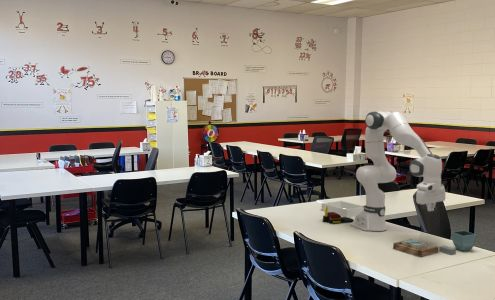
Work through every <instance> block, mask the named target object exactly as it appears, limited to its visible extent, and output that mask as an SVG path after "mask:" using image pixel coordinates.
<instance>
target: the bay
mask: <svg viewBox="0 0 495 300" xmlns="http://www.w3.org/2000/svg"><path fill="white" fill-rule="evenodd" d="M407 240H408V239H406V240H405V241H407ZM409 240H413V239H409ZM403 241H404V240H402V241H397V242H393V244H392V246H393V248H392V249H393V250H396V251H400V252H403V253H406V254H409V255H411V256H414V257H417V258H418V257H419V258H422V257H427V256H431V255H434V254H438V253H439V246H432V247H427V249H423V250H418V249H414V248H411V247H408V246H404V245H401V243H402V242H403Z"/></svg>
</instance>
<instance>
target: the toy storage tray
mask: <svg viewBox="0 0 495 300" xmlns="http://www.w3.org/2000/svg"><path fill="white" fill-rule="evenodd" d="M325 206H327V207H328V212H335V213H337V214H339V215H340V216H341V217H348V218H351V217H352V218H353V217H356V215H358V214H359V213H361V212H362V211H363V210H364V208H362V207H364V206H365V205H360V204H358V203H357V204H356V203H352V202H347V201H344V200H337V201H330V202H321V211H323V212H325ZM343 208H346V209H343Z"/></svg>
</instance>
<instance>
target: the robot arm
mask: <svg viewBox="0 0 495 300" xmlns="http://www.w3.org/2000/svg"><path fill="white" fill-rule="evenodd" d="M364 121H365V122H364V123H365V125H366V128H365V132H364V148H365V156H366V157H367V158H368V159H370V161H372V162H373V163H372V164H373V165H372V164H371V165H363V166H360V167H358V168H357V169H356V173H355V177H356V179H357V181H358V182H359V183H360V184H361V185H362V186H363V189H364V191H365V205H363V206H364V207H362V208H364V210H363V211H362V212H361V213H359V214H358V215H356V216H354V217H355V218H354V221H353V222H352V223H350V226H351V227H354V228H357V229H359V230H362V231H371V232H383V231H387V224H386V216H385V215H386V204H385V203H386V194H385V192H384V191H383V190H382V189H380V188H379V185H378V184H385V183H386V184H387V183H391V182H393V181H395V180H396V178H397V170H396V169H395V167H394V166H393V165H392V164H391V163H390V162H389V161H388V159H387V157H386V153H385V152H386V151H385V141H384V134H385V132H388V133H390V134H391V137H392V138H393V140H394V141H395V142H396V143H397V144H398V145H399V144H400V145H402V146H406V147H410V148H411V149H413V150H415V151H416V153H417V154H418V155H419V157H420V158H416V159H412V160H411V161H410V163H409V167H408V168H409V172H410V174H411V175H412V176H413V177H419V178H420V177H423V180H422V181H421V182H419V183H418V184H416V189H417V190H416V194H415V202H416V203H417V204H418V205H426V208H427V209H426V210H427V212H434V208H435V206H436V203H439V202H445V200H446V188H445V186H444V184H443V183H442V171H443V161H442V158H441V156H439V155H437V154H433V153H432V151H431V149H430V148H429V147H428V146H427V144H426V143H425V141H424V140H423V139H422V138H421V137H420V136H419V135H418V134H417V133H416V132H415V131H414V129H412V128H411V126H410V124H409V122H408V120H407V118H405V116H404V115H403V114H402V113H401V112H399V111H385V110H382V111H371V112H368V113H367V115H366V116H365V118H364Z"/></svg>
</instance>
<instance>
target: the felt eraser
mask: <svg viewBox="0 0 495 300" xmlns="http://www.w3.org/2000/svg"><path fill="white" fill-rule="evenodd" d="M438 247H439V250H438V253H443V254H446V255H449V256H453V255H456V254H457V249H456V247H451V246H448V245H440V246H438Z"/></svg>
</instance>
